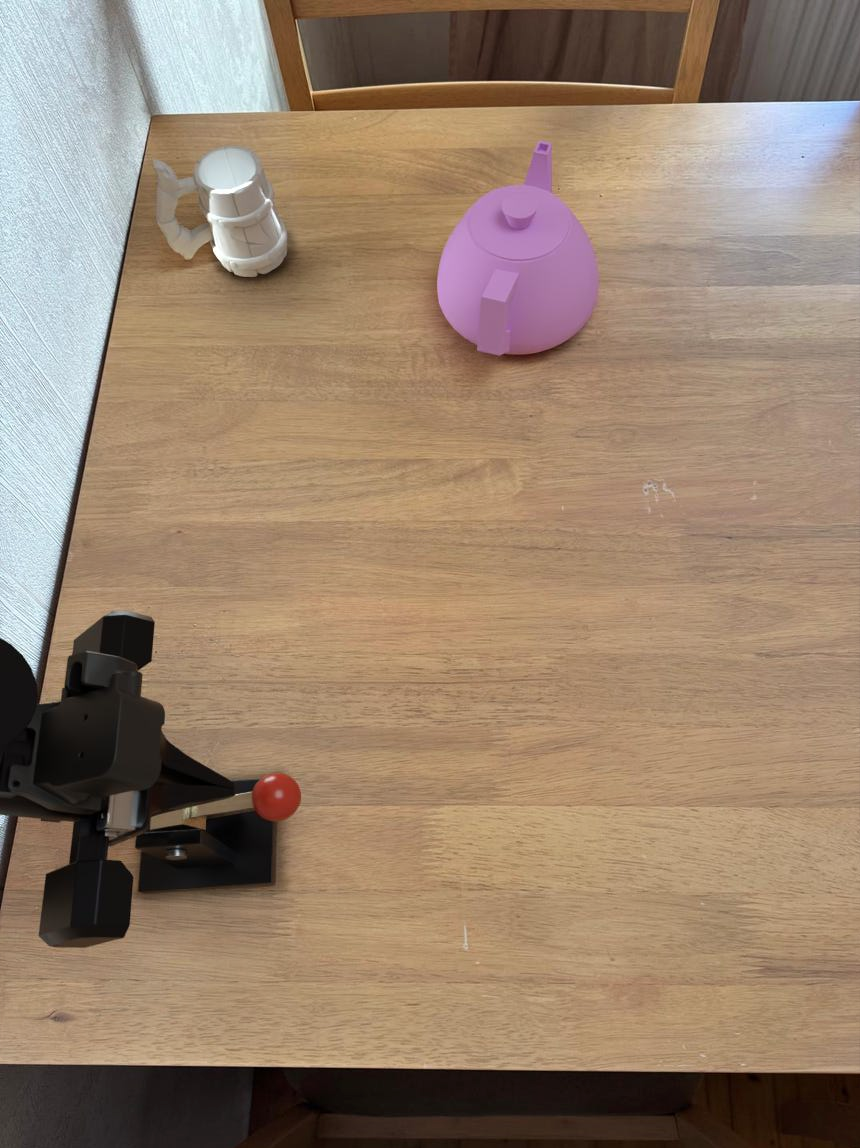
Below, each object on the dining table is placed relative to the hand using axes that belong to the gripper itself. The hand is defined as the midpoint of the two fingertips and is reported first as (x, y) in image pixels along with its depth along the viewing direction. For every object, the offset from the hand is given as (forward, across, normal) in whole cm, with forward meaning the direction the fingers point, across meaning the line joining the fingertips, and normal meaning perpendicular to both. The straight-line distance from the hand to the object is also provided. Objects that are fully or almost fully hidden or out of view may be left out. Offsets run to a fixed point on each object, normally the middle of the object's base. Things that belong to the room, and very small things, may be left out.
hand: (232, 791), depth 58 cm
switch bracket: (+6, 0, +13) cm, 14 cm away
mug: (+5, +60, +14) cm, 61 cm away
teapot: (+26, +51, -6) cm, 57 cm away
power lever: (+3, 0, +4) cm, 5 cm away
